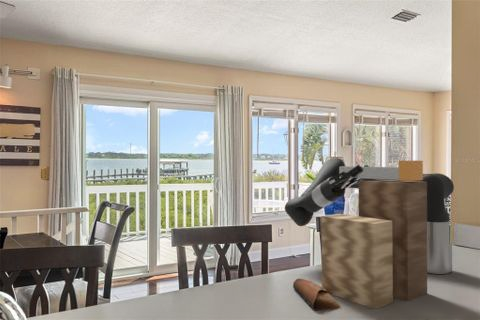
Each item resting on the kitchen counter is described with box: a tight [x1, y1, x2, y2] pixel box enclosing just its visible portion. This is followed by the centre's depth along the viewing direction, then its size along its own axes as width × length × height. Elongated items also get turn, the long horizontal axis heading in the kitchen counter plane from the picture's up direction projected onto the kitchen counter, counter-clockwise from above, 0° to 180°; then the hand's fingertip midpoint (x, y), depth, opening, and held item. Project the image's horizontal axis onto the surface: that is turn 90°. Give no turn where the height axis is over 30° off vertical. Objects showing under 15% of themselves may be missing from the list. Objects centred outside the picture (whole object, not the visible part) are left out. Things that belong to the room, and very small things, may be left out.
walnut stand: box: [358, 180, 428, 302], centre depth 122 cm, size 16×10×32 cm, turn 37°
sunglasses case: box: [292, 278, 342, 312], centre depth 116 cm, size 18×7×7 cm
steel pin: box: [339, 160, 424, 181], centre depth 126 cm, size 26×6×6 cm, turn 37°
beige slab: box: [321, 213, 394, 309], centre depth 117 cm, size 18×8×22 cm, turn 37°
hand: (364, 167), depth 130 cm, fingers closed on steel pin, 3 cm apart
